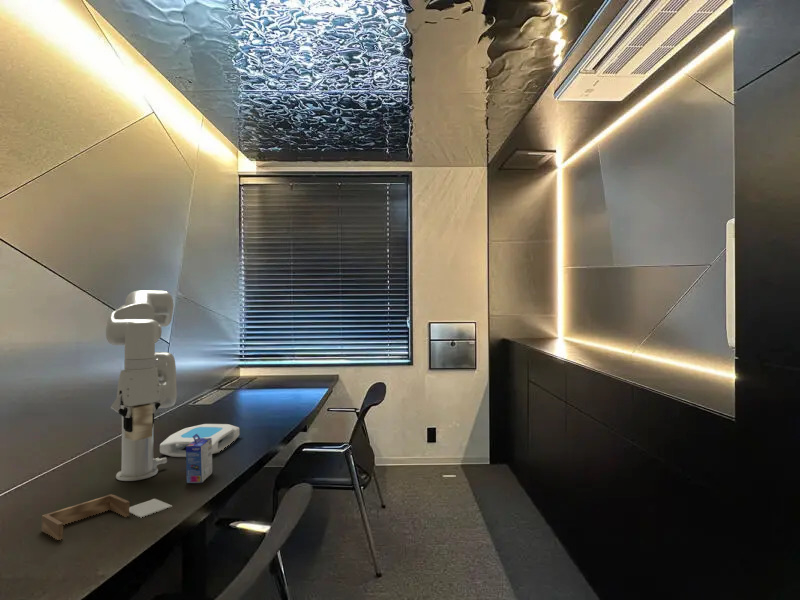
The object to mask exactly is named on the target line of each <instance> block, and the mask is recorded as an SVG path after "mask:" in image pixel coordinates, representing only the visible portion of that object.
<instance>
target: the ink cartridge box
mask: <svg viewBox="0 0 800 600" xmlns="http://www.w3.org/2000/svg"><path fill="white" fill-rule="evenodd" d="M195 437H198V438H197V439H195ZM193 438H194V441H193V442H192V443H190V444H189V445H188V446H186V447H185V450H186V457H185V466H186V467H185V468H186V469H185V471H186V473H185V474H186V484H202V483H204V481H205V480H206V479H208V478H209V477H210V476H211V475H212V474H213V454H212V438H200V437H199V436H198V434H196V435H194V436H193Z"/></svg>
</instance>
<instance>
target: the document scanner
mask: <svg viewBox="0 0 800 600" xmlns="http://www.w3.org/2000/svg"><path fill="white" fill-rule="evenodd" d="M196 434H198V436H199V437H200V438H212V455H214V454H218V453H221V452H222V451H224V450H225V449H226V448H228V447H229V446H231V445H232V444H233V443H234V442H235V441H236V440H237V439H238V438H239V436H240V427H239V426H236V425H232V424H228V423H203V424H198V425H194V426H190V427H185V428H183V429H181V430H178V431H176V432H174V433H172V434H170V435H169V436H168V437H166V439H164V440H163V441H162V442H161V443H160V444H159V453H160V454H162V455H165V456H169V457H171V458H174V457H176V458H186V446H188V445H189V444H190V443H192V442H193V441H194V438H193V436H194V435H196ZM197 438H198V437H195V439H197ZM233 441H234V442H233ZM232 442H233V443H232ZM231 443H232V444H231ZM230 444H231V445H230ZM228 445H229V446H228ZM227 446H228V447H227ZM225 447H226V448H225ZM224 448H225V449H224ZM221 450H222V451H221ZM220 451H221V452H220Z"/></svg>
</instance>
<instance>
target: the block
mask: <svg viewBox="0 0 800 600" xmlns="http://www.w3.org/2000/svg"><path fill="white" fill-rule="evenodd" d="M131 417H132V432H127V431H125V438H127V439H130V440H133V441H136V440H140V439H145V438H149V437H152V421H153V405H150V404H146V405H140V406H133V408H132V413H131Z"/></svg>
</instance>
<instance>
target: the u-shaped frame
mask: <svg viewBox="0 0 800 600" xmlns="http://www.w3.org/2000/svg"><path fill="white" fill-rule="evenodd" d="M129 507H130V501H129V500H128V499H124V498H122V497H121V496H118V495H115V494H113V493H111V494H107V495H105V496H101V497H99V498H98V497H97V498H94V499H91V500H89V501H85V502H80V503H78V504H75V505H72V506H68V507H65V508H62V509H58V510H56V511H55V510H54V511H52V512H49V513H45V514H42V515H41V532H43V533H44V534H45V535H47V534H48V535H47V536H49V535H50V536H49V537H51V536H52V537H53V539H54V538H55V539H54V540H56V539H57V540H60V541H62V540H61V539H63V540H64V526H66V525H65V524H67V525H69V524H68V523H70V524H72V523H71V522H73V523H75V522H74V521H76V522H79V521H81V519H82V520H85V519H87V517H88V518H90V517H89V516H91V517H93V515H94V516H97V515H100V514H103V513H105V511H106V512H108V510H109V511H110V510H111V512H113V511H114V512H113V513H115V512H116V514H117V513H118V514H117V515H119V514H120V515H119V516H121V515H122V516H121V517H123V516H124V518H128V517H130V513H129ZM102 512H103V513H102ZM99 513H100V514H99ZM96 514H97V515H96ZM127 516H128V517H127ZM84 518H85V519H84ZM78 520H79V521H78ZM63 525H64V526H63ZM52 537H51V538H52ZM57 540H56V541H57Z"/></svg>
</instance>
